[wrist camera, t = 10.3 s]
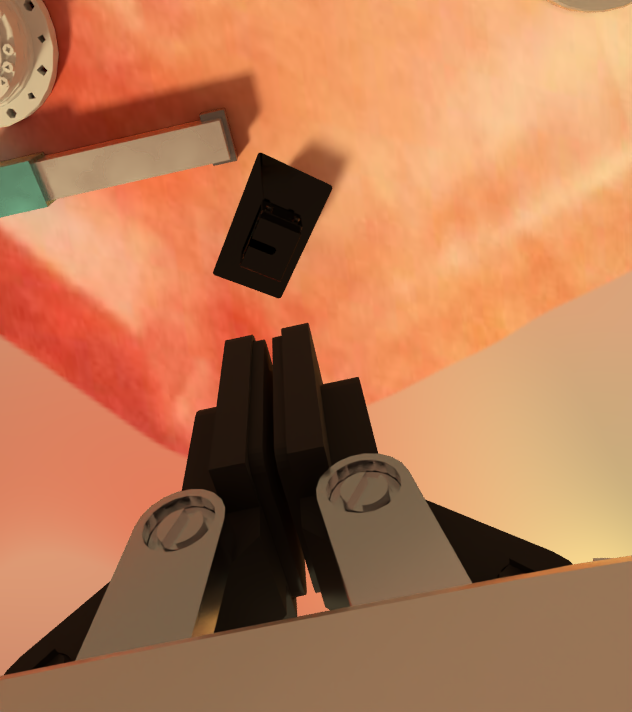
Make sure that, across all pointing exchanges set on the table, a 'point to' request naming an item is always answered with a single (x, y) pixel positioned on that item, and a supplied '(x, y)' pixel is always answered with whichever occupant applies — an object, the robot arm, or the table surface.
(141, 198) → the table surface
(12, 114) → the mechanical component
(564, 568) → the robot arm
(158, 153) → the bar rails
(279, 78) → the table surface
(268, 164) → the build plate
